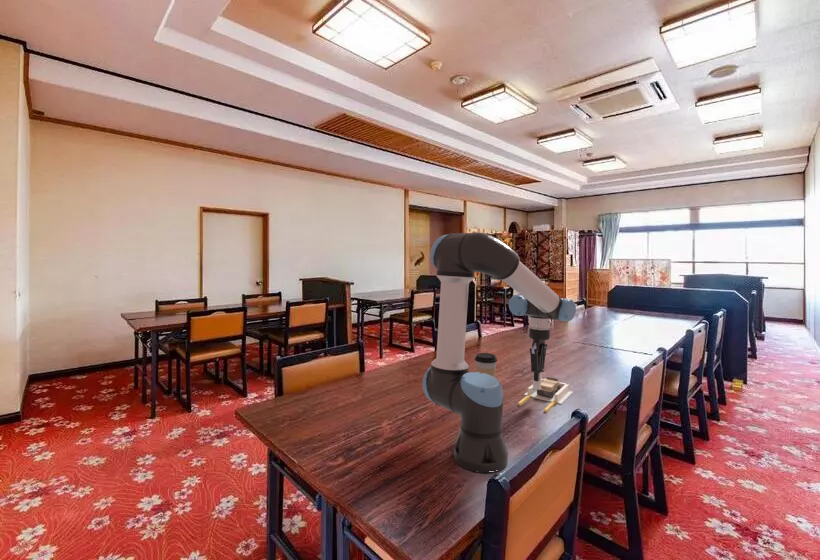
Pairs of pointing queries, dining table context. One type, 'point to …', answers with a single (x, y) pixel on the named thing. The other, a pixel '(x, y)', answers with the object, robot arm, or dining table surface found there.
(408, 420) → the dining table surface
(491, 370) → the coffee cup
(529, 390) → the dock
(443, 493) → the dining table surface
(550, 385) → the two-tone toy block
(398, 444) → the dining table surface
